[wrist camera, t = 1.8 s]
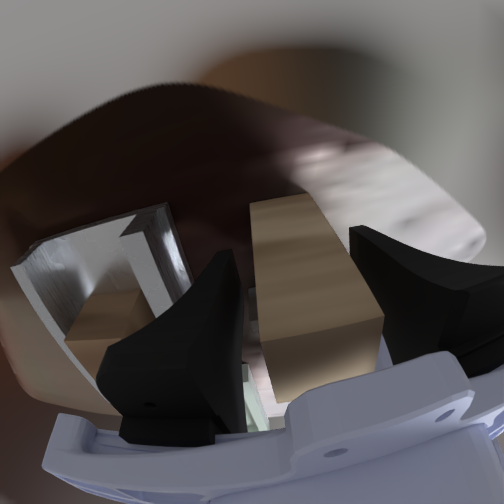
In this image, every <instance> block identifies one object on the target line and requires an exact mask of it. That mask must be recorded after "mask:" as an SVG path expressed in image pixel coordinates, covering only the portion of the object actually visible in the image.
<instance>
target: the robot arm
mask: <svg viewBox="0 0 504 504" xmlns="http://www.w3.org/2000/svg"><path fill="white" fill-rule="evenodd" d="M349 243H350V257H351V258H352V260H353V262H354V263H355V265H356V267H357V268H358V270H359V271H360V273H361V275H362V277H363V278H364V280H365V282H366V283H367V285H368V287H369V288H370V290H371V292H372V294H373V295H374V297H375V299H376V301H377V303H378V304H379V306H380V308H381V310H382V312H383V313H384V315H385V317H384V323H383V329H382V335H381V341H380V347H379V352H378V357H377V362H376V367H375V371H374V372H370V373H367V374H363V375H359V376H355V377H352V378H348V379H343V380H339V381H335V382H331V383H327V384H325V385H322V386H319V387H316V388H313V389H310V390H307V391H306V392H304V393H303V394H302V395H300V396H299V397H297V398H296V399H295V400H293V401H292V402H291V403H290V404H288V407H287V410H286V412H285V415H284V418H285V426H286V428H282V429H275V430H267V431H258V432H248V429H247V421H246V411H245V401H244V389H243V376H242V360H241V358H242V334H243V316H244V303H243V291H242V285H241V282H240V278H239V274H238V271H237V267H236V263H235V259H234V255H233V252H232V249H230V250H224V251H219V252H217V253H216V254H215V256H214V257H213V258H212V260H211V261H210V263H209V264H208V265H207V267H206V268H205V269H204V271H203V272H202V273H201V275H200V276H199V277H198V278H197V280H196V281H195V282H194V283H193V284H192V285H191V287H190V288H189V289H188V290H187V291H186V292H185V293H184V294H183V295H182V296H181V297H180V298H179V299H178V300H177V301H176V302H175V303H174V304H173V305H172V306H171V307H170V308H169V309H167V310H166V311H165V312H163V313H162V314H161V315H160V316H158V317H157V318H156V319H155V320H153V321H152V322H150V323H149V324H147V325H146V326H144V327H143V328H141V329H140V330H138V331H136V332H135V333H133V334H131V335H130V336H128V337H126V338H124V339H122V340H120V341H118V342H116V343H114V344H112V345H110V346H108V347H107V349H106V352H105V354H104V357H103V359H102V362H101V364H100V367H99V370H98V372H97V375H96V381H95V382H96V385H97V387H98V389H99V391H100V392H101V394H102V395H103V396H104V397H105V398H106V399H107V400H108V401H109V403H110V404H111V405H112V406H113V407H114V408H115V409H116V410H117V411H118V412H119V413H121V414H122V415H123V418H122V423H121V427H120V431H119V432H118V431H109V430H102V429H97V428H96V427H95V426H94V425H93V424H92V423H91V422H90V421H88V420H87V419H85V418H83V417H79V416H74V415H69V414H63V413H60V414H58V417H57V420H56V422H55V425H54V428H53V431H52V434H51V437H50V440H49V443H48V446H47V450H46V453H45V456H44V459H43V463H42V467H43V469H45V470H46V471H48V472H49V473H51V474H53V475H55V476H56V477H58V478H60V479H62V480H64V481H65V482H67V483H69V484H71V485H73V486H75V487H77V488H79V489H81V490H83V491H85V492H88V493H91V494H94V495H98V496H101V497H105V498H108V499H112V500H115V501H120V502H123V503H127V504H504V455H503V452H502V449H501V447H500V444H499V442H498V440H497V438H496V437H497V436H498V435H499V434H501V433H502V432H503V431H504V266H488V265H478V264H471V263H465V262H459V261H455V260H451V259H446V258H442V257H439V256H435V255H432V254H429V253H426V252H423V251H421V250H418V249H415V248H413V247H411V246H408V245H406V244H403V243H401V242H399V241H397V240H395V239H392V238H390V237H388V236H386V235H384V234H382V233H380V232H378V231H376V230H374V229H371V228H369V227H367V226H364V225H360V226H354V227H349Z"/></svg>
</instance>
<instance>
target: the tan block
mask: <svg viewBox="0 0 504 504" xmlns="http://www.w3.org/2000/svg"><path fill="white" fill-rule="evenodd" d="M249 204H250V217H251V230H252V243H253V256H254V269H255V282H256V287H254V288H248V302H249V322H250V326H251V329H252V332H256V331H259V335H260V344H261V347H262V351H263V355H264V358H265V362H266V366H267V370H268V373H269V377H270V380H271V384H272V388H273V391H274V395H275V399H276V402H277V403H284V402H290V401H293V400H295V399H296V398H297V397H299V396H300V395H302V394H303V393H304V392H306V391H307V390H310V389H313V388H316V387H319V386H322V385H325V384H327V383H331V382H335V381H339V380H343V379H348V378H352V377H355V376H359V375H363V374H367V373H370V372H374V371H375V367H376V362H377V357H378V352H379V347H380V341H381V335H382V329H383V323H384V317H385V315H384V313H383V312H382V310H381V308H380V306H379V304H378V303H377V301H376V299H375V297H374V295H373V294H372V292H371V290H370V288H369V287H368V285H367V283H366V282H365V280H364V278H363V277H362V275H361V273H360V271H359V270H358V268H357V267H356V265H355V263H354V262H353V260H352V258H351V257H350V255H349V253H348V252H347V250H346V249H345V247H344V245H343V244H342V242H341V241H340V239H339V238H338V236H337V234H336V233H335V231H334V230H333V228H332V227H331V225H330V224H329V222H328V221H327V219H326V218H325V216H324V215H323V213H322V212H321V210H320V209H319V207H318V206H317V204H316V203H315V201H314V200H313V198H312V197H311V195H310V194H309V193H304V194H298V195H292V196H286V197H281V198H275V199H270V200H264V201H259V202H254V203H249Z"/></svg>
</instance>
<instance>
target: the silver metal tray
mask: <svg viewBox="0 0 504 504" xmlns="http://www.w3.org/2000/svg"><path fill="white" fill-rule="evenodd" d="M10 268H11V270H12V272H13V274H14V275H15V277H16V279H17V281H18V283H19V284H20V286H21V288H22V290H23V291H24V293H25V295H26V296H27V298H28V300H29V301H30V303H31V305H32V306H33V308H34V309H35V311H36V312H37V314H38V315H39V317H40V318H41V320H42V321H43V323H44V324H45V326H46V327H47V329H48V330H49V332H50V333H51V334H52V336H53V337H54V339H55V340H56V341H57V343H58V344H59V345H60V347H61V348H62V349H63V351H64V352H65V353H66V354H67V356H68V357H69V358H70V359H71V361H72V362H73V363H74V364H75V366H76V367H77V368H78V369H79V370H80V372H81V373H82V374H83V375H84V376H85V377H86V379H87V380H88V381H89V382H90V383H91V384H92V385H93V386H94V387H95V389H96V390H97V391H98V392H99V393H100V394H101V392H100V391H99V389H98V387H97V385H96V382H95V380H94V379H93V378H92V377H91V375H90V374H89V373H88V372H87V371H86V370H85V368H84V367H83V366H82V365H81V363H80V362H79V361H78V360H77V358H76V357H75V356H74V355H73V353H72V352H71V351H70V349H69V348H68V347H67V345H66V344H65V343H64V339H65V337H66V335H67V333H68V332H69V330H70V328H71V326H72V324H73V323H74V321H75V319H76V317H77V316H78V314H79V312H80V311H81V309H82V307H83V306H84V304H85V302H86V301H87V299H88V297H89V296H96V295H102V294H109V293H115V292H121V291H128V290H134V289H140V288H141V289H142V291H143V293H144V295H145V297H146V299H147V301H148V303H149V305H150V307H151V309H152V311H153V313H154V315H155V317H156V318H157V317H158V316H160V315H161V314H162V313H163V312H165V311H166V310H167V309H169V308H170V307H171V306H172V305H173V304H174V303H175V302H176V301H177V300H178V299H179V298H180V297H181V296H182V295H183V294H184V293H185V292H186V291H187V290H188V289H189V288H190V287H191V285H192V284H193V283H194V282H195V281H194V278H193V275H192V272H191V270H190V267H189V264H188V261H187V258H186V256H185V253H184V250H183V247H182V244H181V241H180V238H179V235H178V232H177V229H176V226H175V223H174V220H173V217H172V214H171V211H170V208H169V204H168V202H165V203H161V204H157V205H153V206H150V207H146V208H142V209H138V210H134V211H131V212H127V213H124V214H120V215H116V216H113V217H110V218H106V219H103V220H99V221H96V222H93V223H89V224H86V225H83V226H80V227H77V228H73V229H70V230H67V231H64V232H61V233H58V234H55V235H52V236H49V237H46V238H43V239H40V240H38V241H35V242H34V243H33V244H32V245H31V246H30V247H29V249H28V250H27V251H26V252H25V253H24V254H23V255H22V256H21V257H20V258H19V259H18V260H17V261H16V262H15V263H14V264H13V265H12V266H11V267H10ZM101 395H102V394H101ZM102 396H103V395H102ZM103 397H104V396H103ZM104 398H105V397H104ZM105 399H106V398H105ZM106 400H107V399H106ZM107 401H108V400H107ZM108 402H109V401H108Z"/></svg>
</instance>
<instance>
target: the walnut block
mask: <svg viewBox="0 0 504 504" xmlns="http://www.w3.org/2000/svg"><path fill="white" fill-rule="evenodd" d="M155 319H156V317H155V315H154V313H153V311H152V309H151V307H150V305H149V303H148V301H147V299H146V297H145V295H144V293H143V291H142V289H141V288H140V289H134V290H128V291H121V292H115V293H109V294H102V295H96V296H89V297H88V299H87V301H86V302H85V304H84V306H83V307H82V309H81V311H80V312H79V314H78V316H77V317H76V319H75V321H74V323H73V324H72V326H71V328H70V330H69V332H68V333H67V335H66V337H65V339H64V343H65V344H66V345H67V347H68V348H69V349H70V351H71V352H72V353H73V355H74V356H75V357H76V358H77V360H78V361H79V362H80V363H81V365H82V366H83V367H84V368H85V370H86V371H87V372H88V373H89V374H90V375H91V377H92V378H93V379H94V380H95V381H96V375H97V372H98V370H99V367H100V364H101V362H102V359H103V357H104V354H105V352H106V349H107V347H108V346H110V345H112V344H114V343H116V342H118V341H120V340H122V339H124V338H126V337H128V336H130V335H131V334H133V333H135V332H136V331H138V330H140V329H141V328H143V327H144V326H146V325H147V324H149V323H150V322H152V321H153V320H155Z"/></svg>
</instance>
